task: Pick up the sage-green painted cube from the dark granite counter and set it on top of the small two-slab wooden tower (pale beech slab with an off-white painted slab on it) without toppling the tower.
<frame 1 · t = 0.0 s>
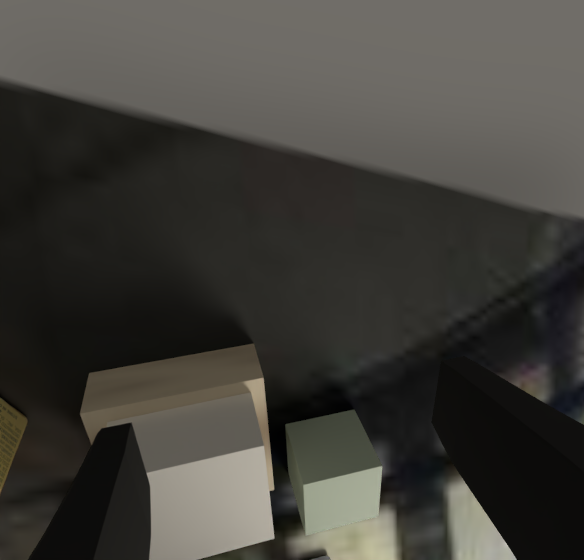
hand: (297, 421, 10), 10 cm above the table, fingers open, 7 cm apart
slab bottom: (186, 409, 23), on the table, touching slab top
block: (320, 440, 26), on the table
slab top: (192, 454, 21), point 3 cm above the table, touching slab bottom
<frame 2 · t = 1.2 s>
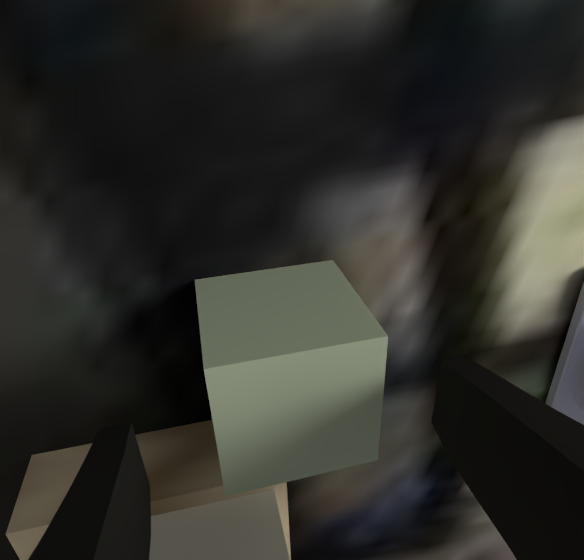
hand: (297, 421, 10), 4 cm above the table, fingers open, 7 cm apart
slab bottom: (174, 494, 17), on the table
block: (269, 325, 14), on the table
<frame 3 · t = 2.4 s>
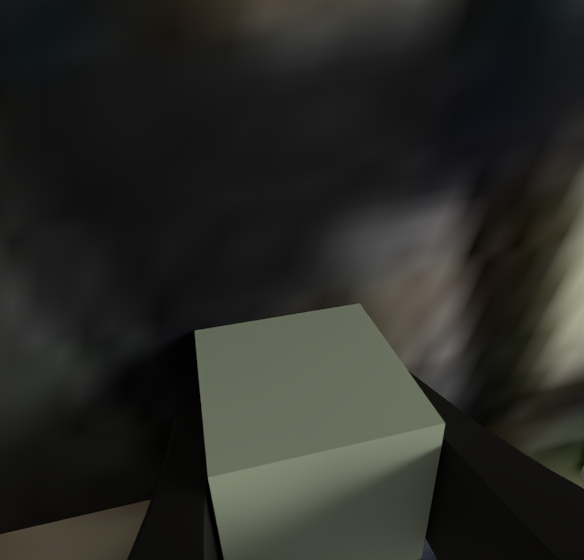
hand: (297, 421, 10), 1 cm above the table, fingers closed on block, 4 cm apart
block: (283, 381, 12), on the table, touching gripper
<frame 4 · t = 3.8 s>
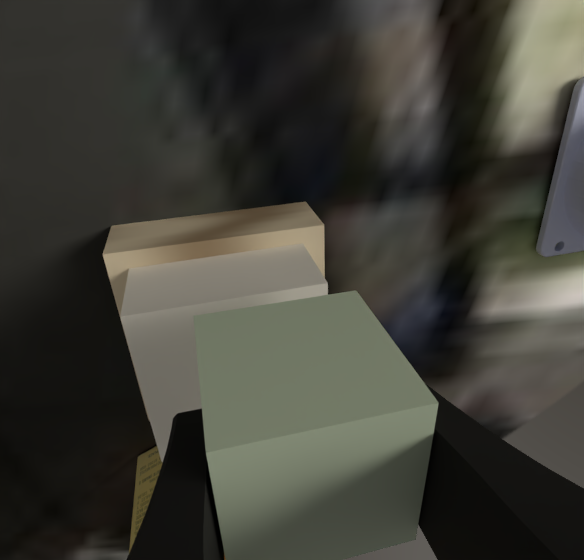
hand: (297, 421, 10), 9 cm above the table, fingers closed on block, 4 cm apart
slab bottom: (222, 290, 20), on the table
block: (281, 367, 12), point 8 cm above the table, touching gripper
candy box: (213, 477, 25), on the table
slab top: (229, 326, 17), point 3 cm above the table
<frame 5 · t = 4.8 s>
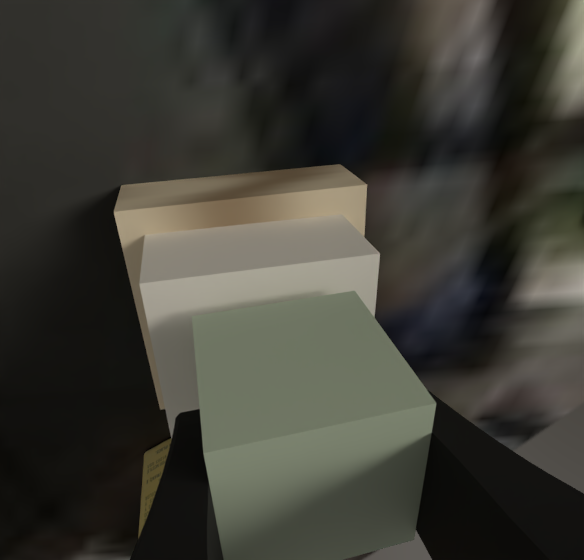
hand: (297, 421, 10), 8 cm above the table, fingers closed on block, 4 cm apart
slab bottom: (242, 265, 18), on the table, touching slab top
block: (280, 367, 12), point 6 cm above the table, touching gripper
candy box: (226, 476, 23), on the table
slab top: (253, 307, 15), point 2 cm above the table, touching slab bottom
when the fingers open (8 cm above the table, at t = 5.1 s): block stays where it is, resting on slab top.
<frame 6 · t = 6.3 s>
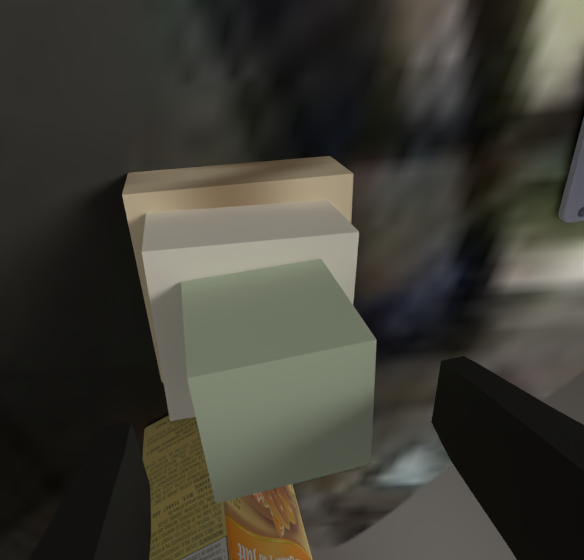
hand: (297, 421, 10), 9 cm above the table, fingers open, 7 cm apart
slab bottom: (239, 250, 19), on the table, touching slab top
block: (259, 327, 14), point 6 cm above the table, touching slab top
candy box: (221, 453, 24), on the table
slab top: (244, 285, 16), point 3 cm above the table, touching block, slab bottom
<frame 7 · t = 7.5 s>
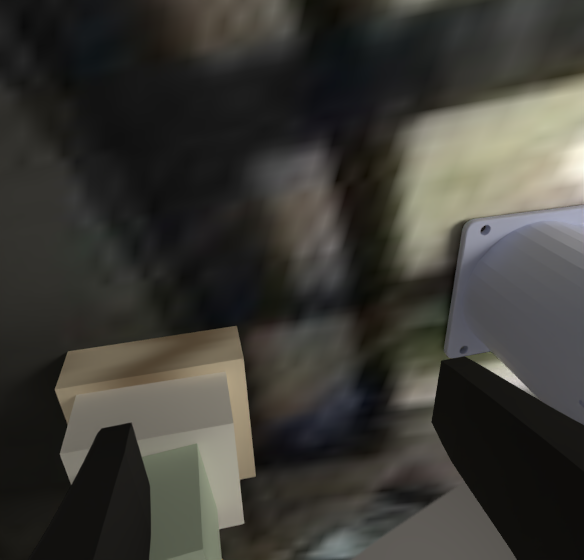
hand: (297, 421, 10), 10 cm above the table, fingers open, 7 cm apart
slab bottom: (168, 393, 23), on the table, touching slab top
block: (156, 491, 17), point 5 cm above the table, touching slab top
slab top: (164, 434, 20), point 2 cm above the table, touching block, slab bottom
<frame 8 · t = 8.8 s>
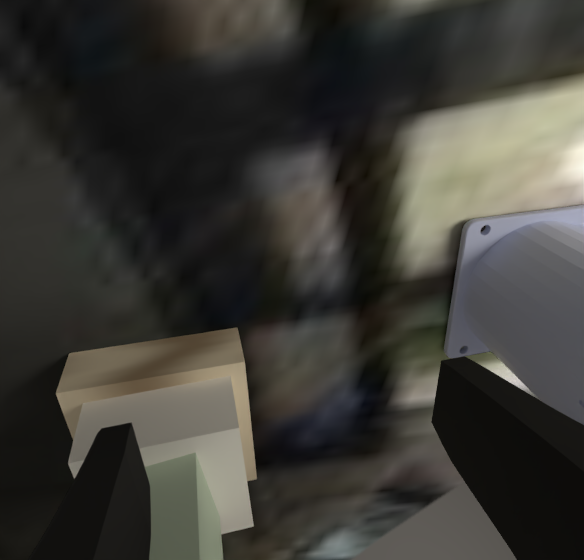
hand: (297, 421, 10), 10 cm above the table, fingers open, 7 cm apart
slab bottom: (169, 395, 23), on the table, touching slab top
block: (157, 500, 18), point 6 cm above the table, touching slab top
slab top: (171, 439, 20), point 3 cm above the table, touching block, slab bottom
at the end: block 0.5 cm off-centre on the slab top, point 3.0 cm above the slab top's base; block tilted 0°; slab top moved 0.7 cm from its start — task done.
